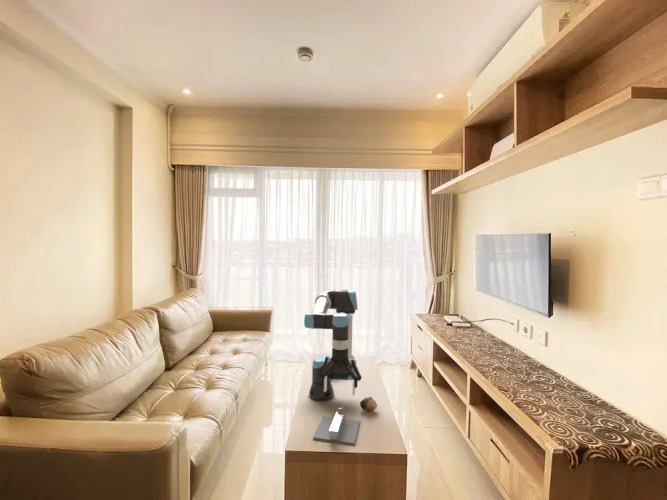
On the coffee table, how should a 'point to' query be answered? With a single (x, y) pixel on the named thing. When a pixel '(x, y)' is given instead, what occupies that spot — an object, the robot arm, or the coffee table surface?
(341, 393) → the coffee table surface
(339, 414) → the swing bar
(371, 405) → the seashell
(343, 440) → the panel
